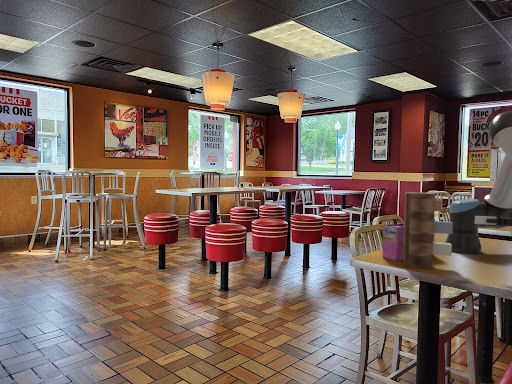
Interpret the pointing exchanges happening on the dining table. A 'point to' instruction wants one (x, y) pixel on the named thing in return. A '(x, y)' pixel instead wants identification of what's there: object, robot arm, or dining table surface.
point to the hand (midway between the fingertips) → (475, 219)
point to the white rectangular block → (442, 248)
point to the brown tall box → (418, 230)
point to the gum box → (394, 241)
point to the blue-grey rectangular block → (443, 227)
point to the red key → (438, 205)
